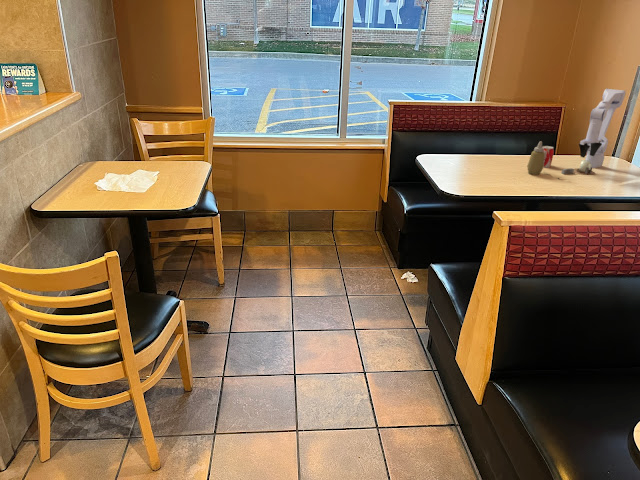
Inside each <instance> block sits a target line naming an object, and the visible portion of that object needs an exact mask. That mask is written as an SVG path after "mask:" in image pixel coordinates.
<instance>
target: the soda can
mask: <svg viewBox="0 0 640 480" xmlns="http://www.w3.org/2000/svg"><path fill="white" fill-rule="evenodd" d="M542 148H544V151H543V152H544V153H545V156H544V165H543V168H551V166H552V162H553V158H554V153H555V150H554V146H549V145H542Z"/></svg>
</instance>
